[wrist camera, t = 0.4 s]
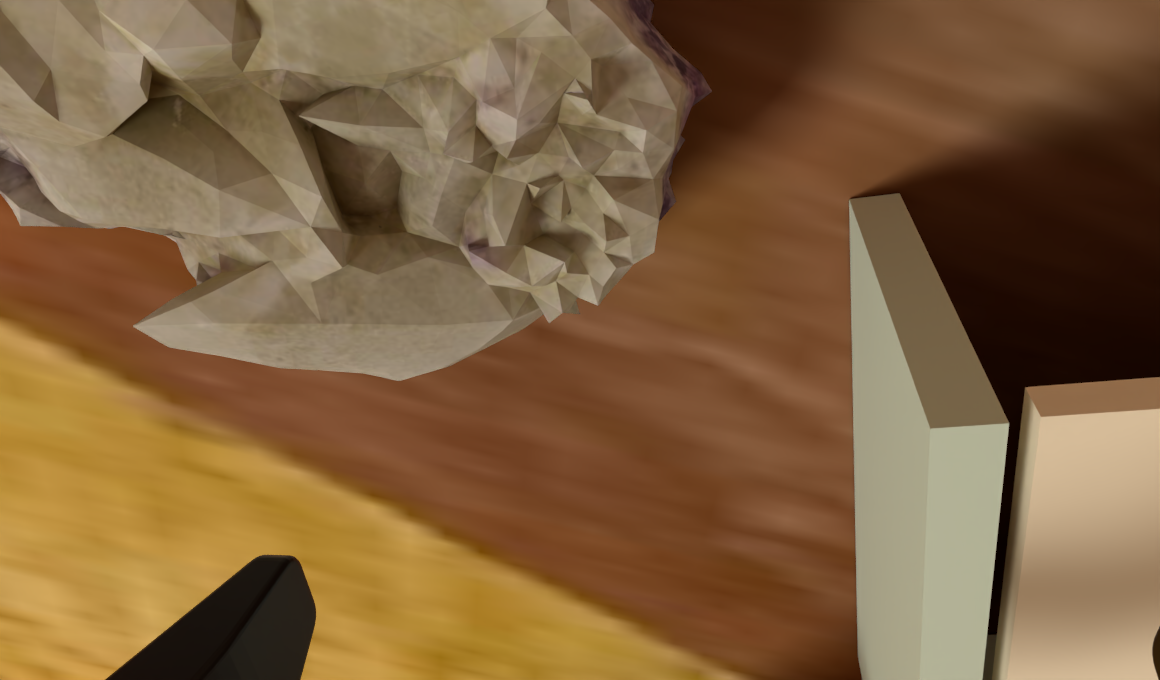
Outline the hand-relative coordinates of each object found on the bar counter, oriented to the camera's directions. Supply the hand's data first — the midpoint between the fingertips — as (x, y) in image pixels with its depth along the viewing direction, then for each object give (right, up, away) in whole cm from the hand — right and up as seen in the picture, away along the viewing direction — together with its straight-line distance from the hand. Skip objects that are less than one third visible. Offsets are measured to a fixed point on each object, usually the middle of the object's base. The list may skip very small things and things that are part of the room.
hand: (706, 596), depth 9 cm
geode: (-8, +10, +12) cm, 17 cm away
